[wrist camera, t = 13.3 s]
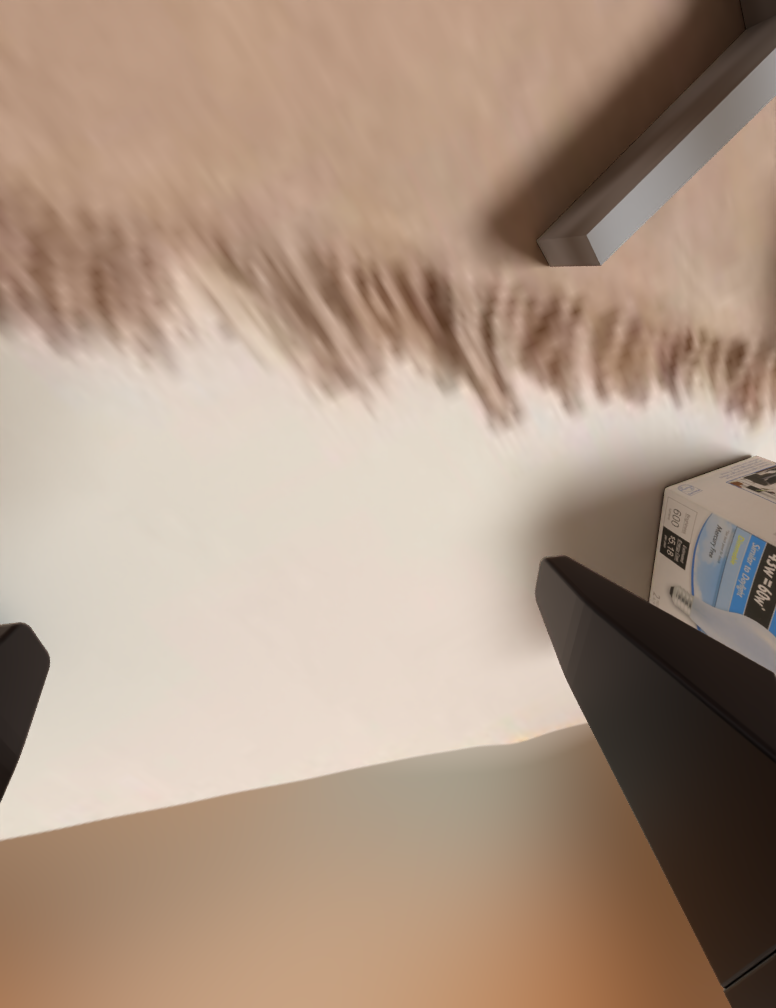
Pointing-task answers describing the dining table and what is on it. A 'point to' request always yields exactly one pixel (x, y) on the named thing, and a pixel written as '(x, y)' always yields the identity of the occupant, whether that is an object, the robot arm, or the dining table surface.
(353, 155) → the dining table surface
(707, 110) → the nook
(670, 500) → the light bulb box
